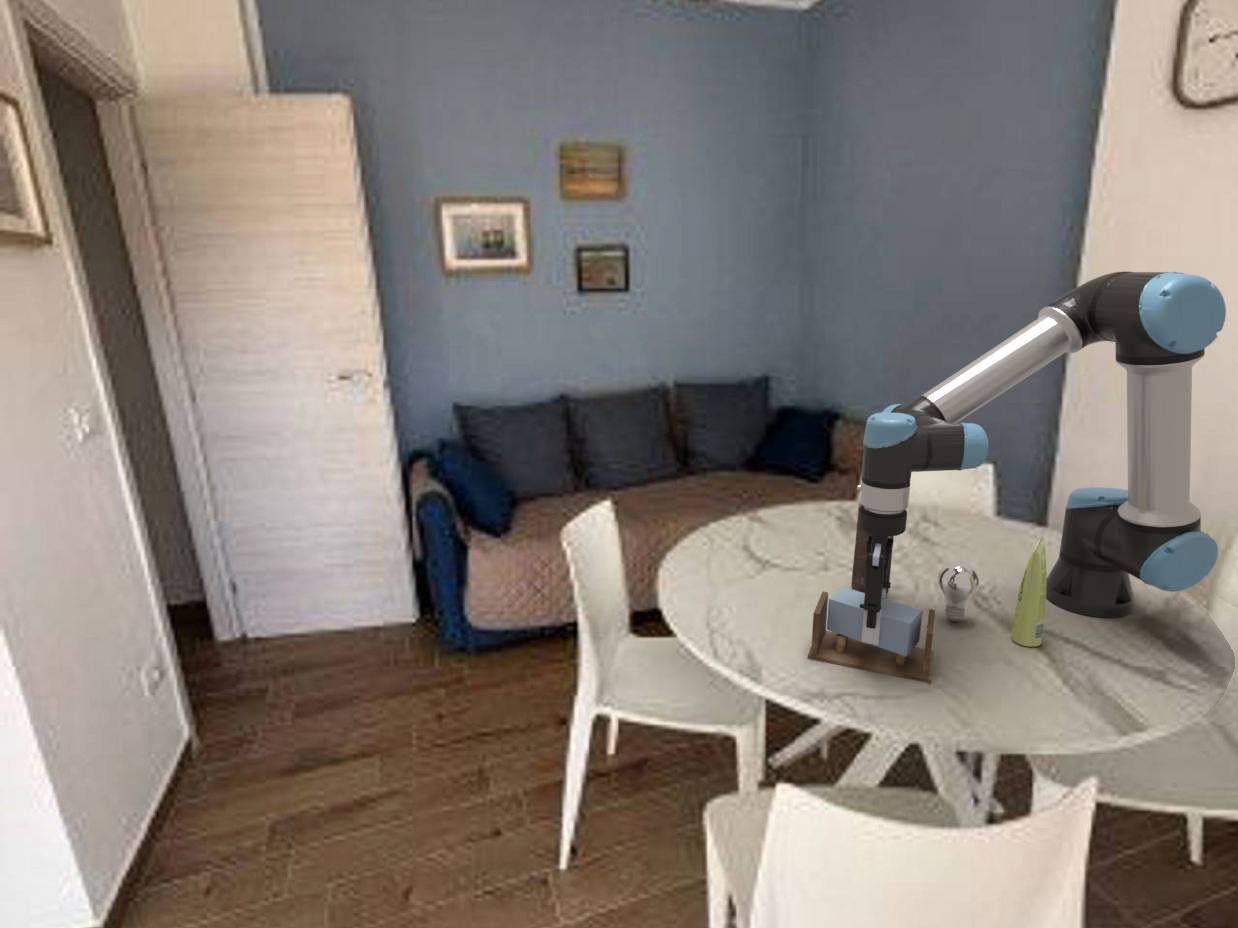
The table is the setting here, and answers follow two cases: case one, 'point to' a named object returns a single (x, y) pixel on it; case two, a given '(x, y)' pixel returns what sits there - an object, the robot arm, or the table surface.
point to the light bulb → (957, 587)
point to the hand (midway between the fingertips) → (872, 631)
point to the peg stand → (869, 650)
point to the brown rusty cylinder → (863, 561)
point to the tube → (1031, 600)
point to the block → (895, 624)
